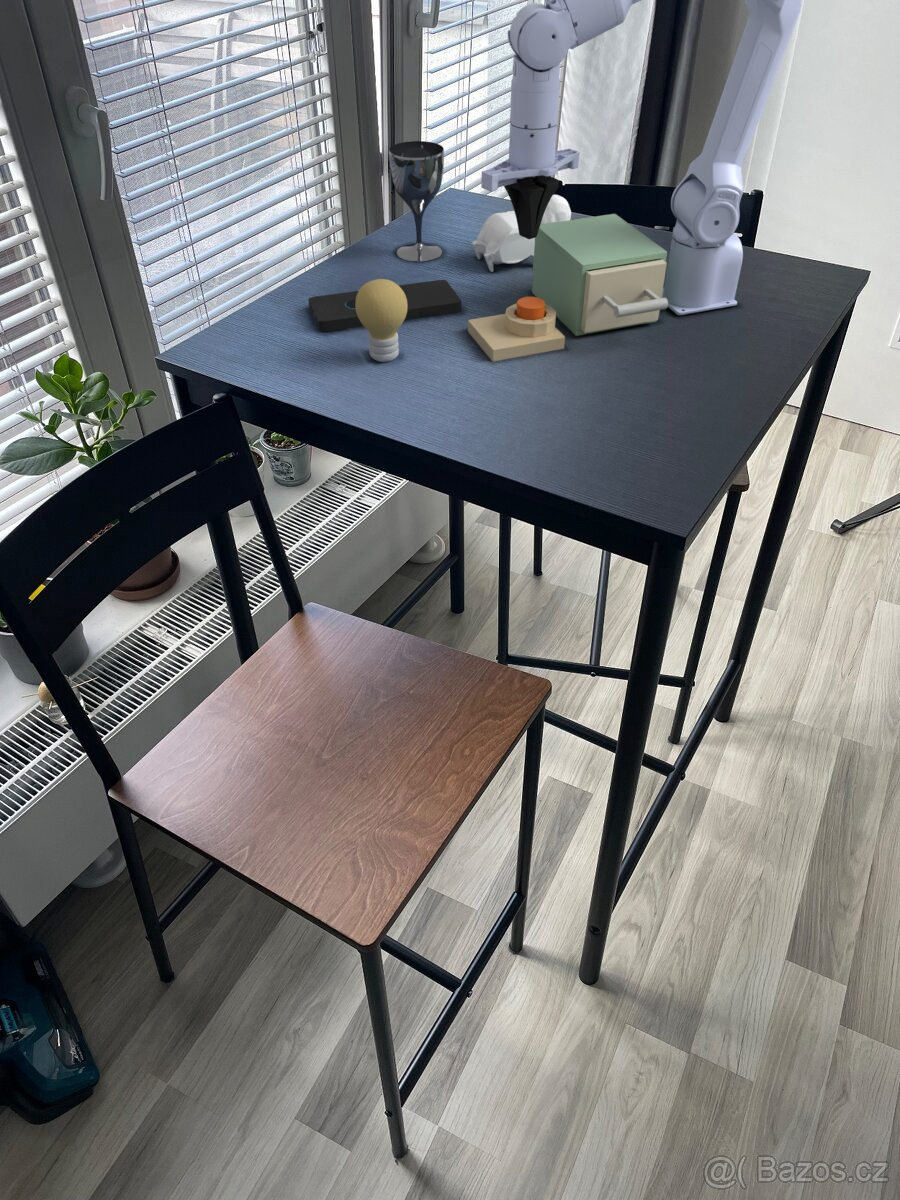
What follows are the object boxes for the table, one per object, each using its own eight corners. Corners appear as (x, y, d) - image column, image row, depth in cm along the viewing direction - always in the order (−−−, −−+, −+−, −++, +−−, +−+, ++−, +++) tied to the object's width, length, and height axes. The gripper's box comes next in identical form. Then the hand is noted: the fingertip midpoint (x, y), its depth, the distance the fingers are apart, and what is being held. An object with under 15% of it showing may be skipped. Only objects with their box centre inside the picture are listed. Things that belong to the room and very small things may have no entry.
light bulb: (371, 373, 114) (366, 296, 108) (351, 352, 118) (345, 277, 112) (417, 362, 116) (415, 286, 110) (396, 341, 121) (393, 267, 114)
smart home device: (307, 296, 127) (444, 277, 131) (308, 307, 128) (445, 289, 133) (318, 321, 121) (462, 301, 126) (320, 333, 122) (462, 313, 127)
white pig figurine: (501, 293, 138) (588, 244, 138) (483, 244, 132) (573, 192, 132) (480, 272, 144) (564, 224, 144) (462, 224, 138) (549, 174, 138)
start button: (537, 307, 121) (538, 294, 120) (548, 318, 118) (549, 305, 117) (512, 311, 120) (512, 298, 119) (523, 323, 117) (523, 310, 116)
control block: (537, 319, 125) (539, 295, 123) (566, 348, 119) (568, 323, 117) (467, 331, 123) (467, 306, 120) (492, 362, 116) (493, 336, 114)
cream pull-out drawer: (676, 335, 120) (686, 276, 114) (600, 349, 117) (607, 289, 112) (611, 281, 132) (618, 226, 127) (542, 292, 130) (545, 236, 124)
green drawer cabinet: (656, 322, 124) (667, 251, 118) (575, 336, 121) (582, 265, 115) (607, 280, 135) (614, 213, 128) (531, 292, 132) (535, 224, 125)
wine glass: (392, 243, 145) (388, 141, 135) (442, 241, 146) (441, 140, 136) (394, 263, 140) (390, 158, 130) (446, 261, 140) (446, 156, 130)
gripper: (509, 142, 105) (505, 259, 114) (600, 119, 112) (589, 231, 121) (471, 128, 109) (470, 242, 119) (560, 107, 116) (553, 216, 125)
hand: (527, 236), depth 120 cm, fingers closed
